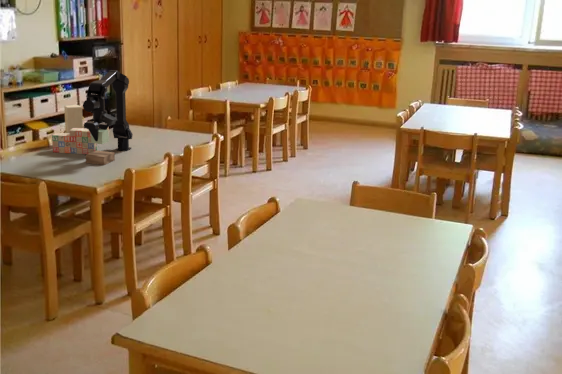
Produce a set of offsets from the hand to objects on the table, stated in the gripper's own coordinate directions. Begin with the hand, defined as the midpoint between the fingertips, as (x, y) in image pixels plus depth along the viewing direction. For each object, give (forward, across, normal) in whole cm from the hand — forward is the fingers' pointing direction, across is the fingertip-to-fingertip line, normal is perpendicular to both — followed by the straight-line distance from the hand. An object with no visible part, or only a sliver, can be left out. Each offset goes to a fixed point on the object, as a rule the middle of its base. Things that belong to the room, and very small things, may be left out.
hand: (99, 139), depth 297 cm
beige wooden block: (+11, +26, +31) cm, 42 cm away
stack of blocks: (+11, +11, +21) cm, 27 cm away
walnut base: (+11, 0, 0) cm, 11 cm away
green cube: (+1, 0, 0) cm, 1 cm away
